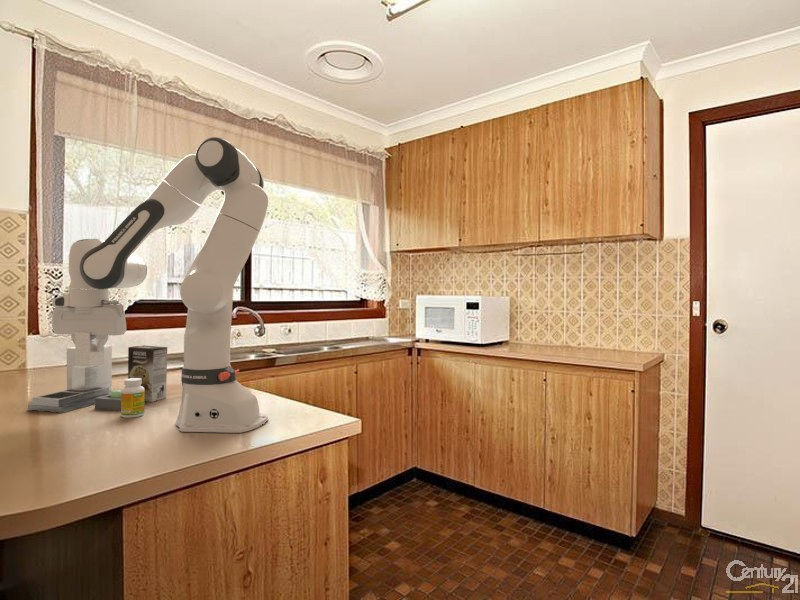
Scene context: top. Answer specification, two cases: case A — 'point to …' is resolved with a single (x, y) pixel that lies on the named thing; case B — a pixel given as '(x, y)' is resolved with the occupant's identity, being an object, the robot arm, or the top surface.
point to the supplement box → (103, 370)
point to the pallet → (73, 392)
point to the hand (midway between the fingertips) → (89, 351)
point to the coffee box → (149, 369)
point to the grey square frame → (108, 403)
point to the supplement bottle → (132, 398)
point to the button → (115, 394)
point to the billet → (87, 350)
